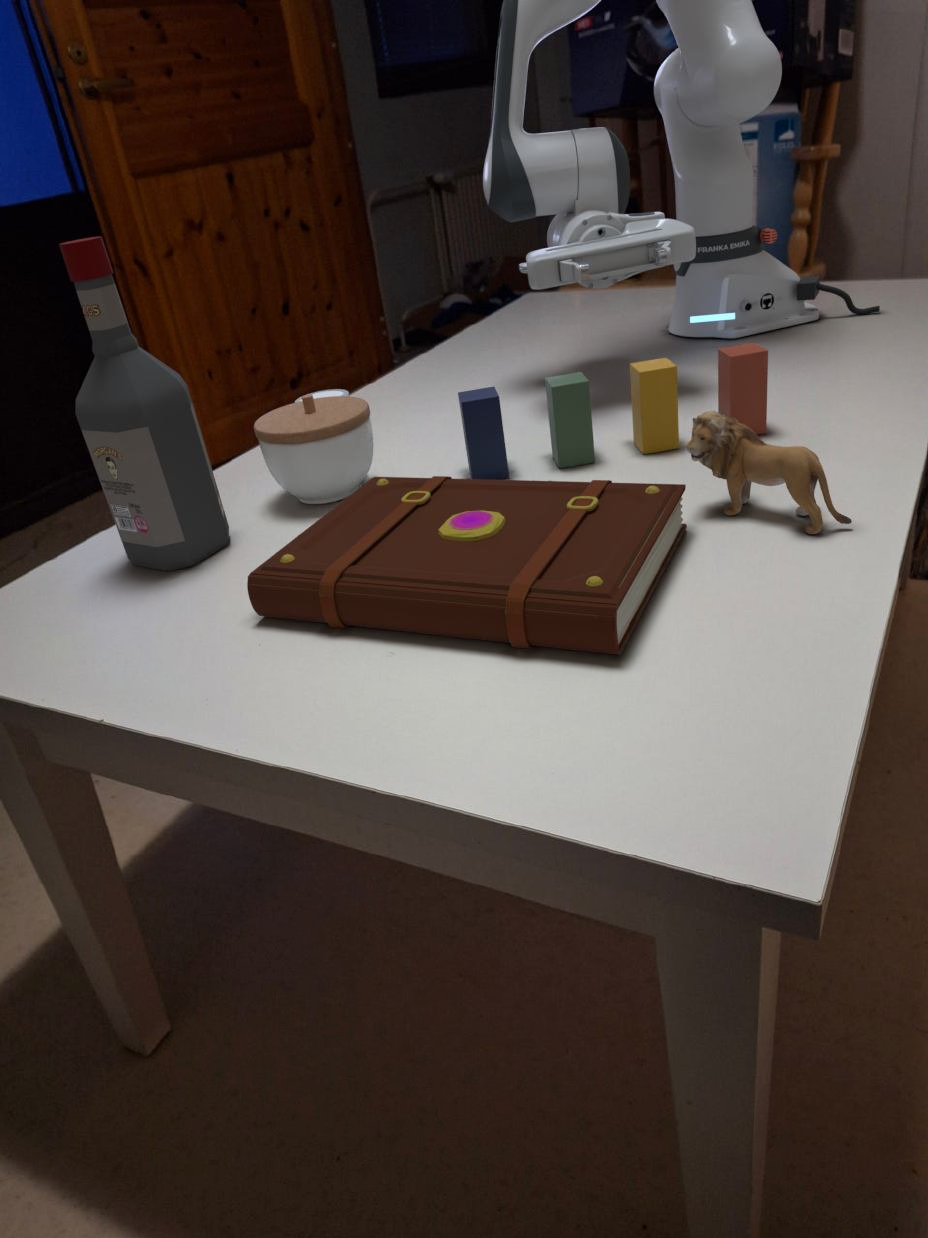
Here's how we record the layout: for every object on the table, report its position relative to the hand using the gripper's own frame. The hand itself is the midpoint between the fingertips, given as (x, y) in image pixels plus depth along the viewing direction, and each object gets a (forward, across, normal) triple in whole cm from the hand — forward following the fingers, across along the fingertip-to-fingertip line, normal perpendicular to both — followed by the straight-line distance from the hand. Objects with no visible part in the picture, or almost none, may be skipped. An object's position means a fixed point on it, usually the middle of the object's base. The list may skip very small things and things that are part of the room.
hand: (624, 265), depth 102 cm
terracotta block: (+12, +9, +18) cm, 23 cm away
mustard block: (+12, -1, +17) cm, 21 cm away
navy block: (+12, -20, +17) cm, 29 cm away
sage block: (+12, -10, +17) cm, 23 cm away
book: (+36, -24, +17) cm, 46 cm away
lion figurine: (+34, +2, +18) cm, 38 cm away
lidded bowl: (+9, -38, +17) cm, 42 cm away
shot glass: (-6, -38, +17) cm, 42 cm away
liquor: (+19, -53, +16) cm, 58 cm away
